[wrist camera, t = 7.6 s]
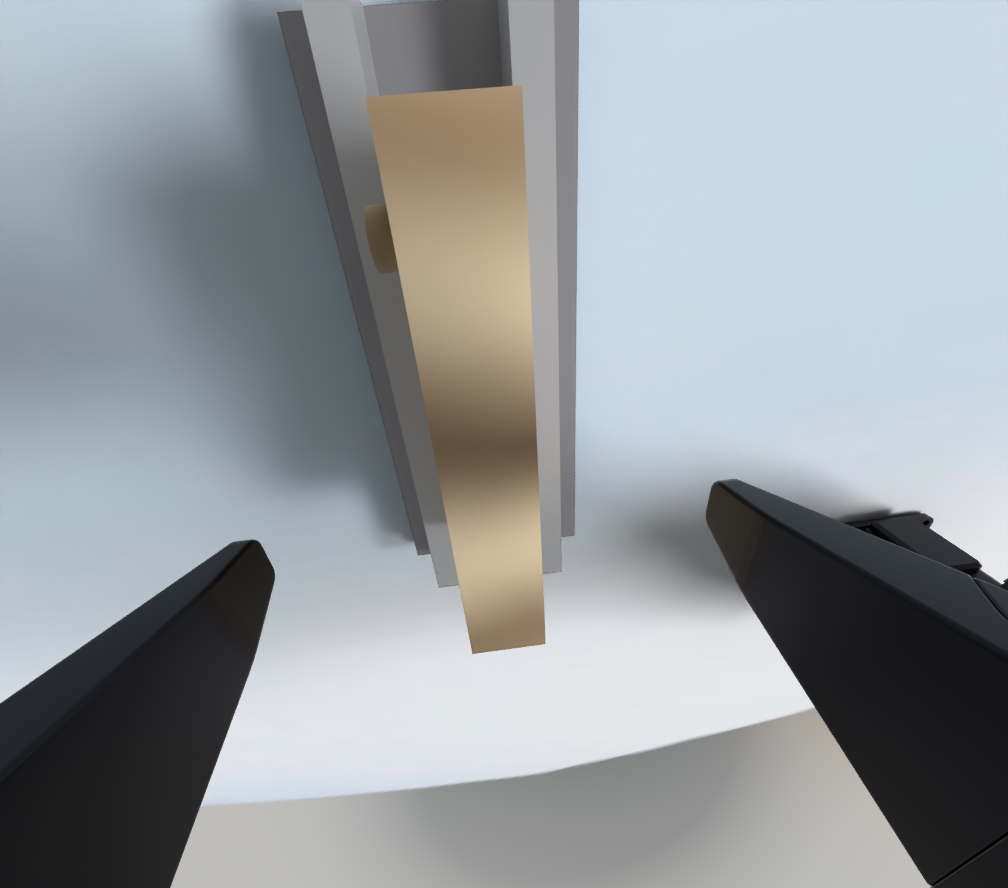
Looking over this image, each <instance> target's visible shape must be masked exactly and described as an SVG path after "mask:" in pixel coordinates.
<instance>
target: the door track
mask: <svg viewBox="0 0 1008 888" xmlns="http://www.w3.org/2000/svg"><path fill="white" fill-rule="evenodd" d="M300 3H301V7H302V10H301V11H287V12H277V13H278V17H279V21H280V25H281V29H282V33H283V36H284V40H285V44H286V48H287V52H288V56H289V60H290V63H291V67H292V71H293V75H294V79H295V83H296V87H297V91H298V94H299V98H300V102H301V106H302V110H303V114H304V118H305V121H306V125H307V129H308V133H309V137H310V141H311V145H312V148H313V152H314V156H315V160H316V164H317V168H318V172H319V175H320V179H321V183H322V187H323V191H324V195H325V199H326V202H327V206H328V210H329V214H330V218H331V222H332V226H333V229H334V233H335V237H336V241H337V245H338V249H339V253H340V256H341V260H342V264H343V268H344V272H345V276H346V280H347V283H348V287H349V291H350V295H351V299H352V303H353V307H354V310H355V314H356V318H357V322H358V326H359V330H360V334H361V337H362V341H363V345H364V349H365V353H366V357H367V361H368V364H369V368H370V372H371V376H372V380H373V384H374V388H375V392H376V395H377V399H378V403H379V407H380V411H381V415H382V419H383V422H384V426H385V430H386V434H387V438H388V442H389V446H390V449H391V453H392V457H393V461H394V465H395V469H396V473H397V476H398V480H399V484H400V488H401V492H402V496H403V500H404V503H405V507H406V511H407V515H408V519H409V523H410V527H411V530H412V534H413V538H414V542H415V546H416V550H417V554H418V555H425V554H431V557H432V561H433V565H434V569H435V574H436V578H437V582H438V586H439V588H441V587H448V586H456V585H459V581H458V576H457V570H456V565H455V560H454V555H453V550H452V545H451V539H450V534H449V529H448V524H447V519H446V513H445V508H444V503H443V498H442V493H441V487H440V482H439V477H438V472H437V467H436V462H435V456H434V451H433V446H432V441H431V436H430V430H429V425H428V420H427V415H426V410H425V404H424V399H423V394H422V389H421V384H420V379H419V373H418V368H417V363H416V358H415V353H414V347H413V342H412V337H411V332H410V327H409V321H408V316H407V311H406V306H405V301H404V296H403V290H402V285H401V280H400V275H399V272H391V273H381V274H380V273H379V272H378V270H377V269H376V266H375V264H374V261H373V258H372V255H371V252H370V248H369V244H368V239H367V234H366V228H365V218H364V210H365V206H366V205H374V204H385V203H386V202H385V197H384V192H383V187H382V181H381V176H380V171H379V166H378V161H377V155H376V150H375V145H374V140H373V135H372V130H371V124H370V119H369V114H368V109H367V104H366V98H365V97H371V96H384V95H397V94H410V93H424V92H437V91H450V90H463V89H476V88H490V87H503V86H516V85H522V94H523V118H524V142H525V166H526V190H527V214H528V238H529V262H530V286H531V310H532V334H533V358H534V382H535V406H536V429H537V453H538V477H539V501H540V525H541V549H542V573H543V574H547V573H555V572H562V565H561V537H566V536H573V535H574V520H575V406H576V293H577V179H578V65H579V0H442V1H428V2H414V3H399V4H385V5H371V6H363V5H362V3H361V1H360V0H300Z"/></svg>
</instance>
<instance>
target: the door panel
mask: <svg viewBox="0 0 1008 888" xmlns="http://www.w3.org/2000/svg"><path fill="white" fill-rule="evenodd" d="M365 98H366V104H367V109H368V114H369V119H370V124H371V130H372V135H373V140H374V145H375V150H376V155H377V161H378V166H379V171H380V176H381V181H382V187H383V192H384V197H385V202H386V203H385V204H374V205H366V206H365V210H364V218H365V228H366V234H367V239H368V244H369V248H370V252H371V255H372V258H373V261H374V264H375V266H376V269H377V270H378V272H379V273H380V274H381V273H391V272H399V275H400V280H401V285H402V290H403V296H404V301H405V306H406V311H407V316H408V321H409V327H410V332H411V337H412V342H413V347H414V353H415V358H416V363H417V368H418V373H419V379H420V384H421V389H422V394H423V399H424V404H425V410H426V415H427V420H428V425H429V430H430V436H431V441H432V446H433V451H434V456H435V462H436V467H437V472H438V477H439V482H440V487H441V493H442V498H443V503H444V508H445V513H446V519H447V524H448V529H449V534H450V539H451V545H452V550H453V555H454V560H455V565H456V570H457V576H458V581H459V586H460V591H461V596H462V602H463V607H464V612H465V617H466V622H467V628H468V633H469V638H470V643H471V648H472V653H473V654H475V653H483V652H490V651H497V650H505V649H512V648H519V647H526V646H534V645H541V644H545V621H544V597H543V573H542V549H541V525H540V501H539V477H538V453H537V429H536V406H535V382H534V358H533V334H532V310H531V286H530V262H529V238H528V214H527V190H526V166H525V142H524V118H523V94H522V85H516V86H503V87H490V88H476V89H463V90H450V91H437V92H424V93H410V94H397V95H384V96H371V97H365Z"/></svg>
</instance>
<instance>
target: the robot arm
mask: <svg viewBox="0 0 1008 888" xmlns="http://www.w3.org/2000/svg"><path fill="white" fill-rule="evenodd" d="M706 521H707V524H708V526H709V528H710V530H711V532H712V534H713V536H714V538H715V540H716V542H717V544H718V546H719V548H720V550H721V552H722V554H723V556H724V558H725V560H726V562H727V564H728V566H729V568H730V570H731V572H732V574H733V576H734V578H735V580H736V582H737V584H738V586H739V588H740V589H741V591H742V593H743V595H744V596H745V598H746V600H747V601H748V603H749V604H750V606H751V608H752V609H753V611H754V612H755V614H756V615H757V617H758V619H759V620H760V622H761V623H762V625H763V626H764V628H765V630H766V631H767V633H768V634H769V636H770V637H771V639H772V640H773V642H774V644H775V645H776V647H777V648H778V650H779V651H780V653H781V655H782V656H783V658H784V659H785V661H786V662H787V664H788V666H789V667H790V669H791V670H792V672H793V673H794V675H795V677H796V678H797V680H798V681H799V683H800V684H801V686H802V688H803V689H804V691H805V692H806V694H807V695H808V697H809V699H810V700H811V702H812V703H813V705H814V706H815V708H816V710H817V711H818V713H819V714H820V716H821V717H822V719H823V720H824V722H825V723H826V725H827V727H828V728H829V730H830V732H831V733H832V735H833V736H834V738H835V739H836V741H837V743H838V744H839V745H840V747H841V749H842V750H843V752H844V753H845V755H846V757H847V758H848V760H849V761H850V763H851V764H852V766H853V768H854V769H855V771H856V772H857V774H858V775H859V777H860V779H861V780H862V782H863V783H864V785H865V786H866V788H867V789H868V791H869V793H870V794H871V796H872V797H873V799H874V801H875V802H876V804H877V805H878V807H879V808H880V810H881V812H882V813H883V815H884V816H885V818H886V819H887V821H888V822H889V824H890V826H891V827H892V829H893V830H894V832H895V833H896V835H897V836H898V838H899V840H900V841H901V843H902V845H903V846H904V847H905V849H906V851H907V852H908V854H909V855H910V857H911V858H912V860H913V862H914V863H915V865H916V866H917V868H918V870H919V871H920V873H921V874H922V876H923V877H924V879H925V880H926V882H927V883H928V884H929V885H931V887H930V888H1008V578H1007V579H1006V580H1004V582H1005V583H1004V584H1001V583H999V582H998V581H996V580H995V579H993V578H992V577H990V576H989V575H987V574H986V573H984V572H983V571H982V570H980V569H981V567H982V565H981V564H980V562H979V561H978V560H976V559H975V558H973V557H972V556H970V555H969V554H967V553H966V552H964V551H963V550H961V549H960V548H958V547H957V546H955V545H954V544H952V543H951V542H949V541H948V540H946V539H945V538H943V537H942V536H940V535H939V534H937V533H936V532H934V531H933V530H931V529H930V526H931V524H932V523H933V518H931V517H930V516H928V515H927V514H915V515H907V516H900V517H892V518H884V519H877V520H869V521H861V522H854V523H846V524H844V523H842V522H839V521H837V520H834V519H832V518H829V517H827V516H825V515H822V514H820V513H817V512H815V511H812V510H810V509H808V508H805V507H803V506H800V505H798V504H795V503H793V502H791V501H788V500H786V499H783V498H781V497H779V496H776V495H774V494H771V493H769V492H766V491H764V490H762V489H759V488H757V487H754V486H752V485H749V484H747V483H745V482H742V481H740V480H737V479H729V480H721V481H717V482H715V483H714V484H713V485H712V487H711V491H710V496H709V501H708V505H707V510H706ZM274 581H275V573H274V569H273V566H272V565H271V563H270V561H269V559H268V557H267V555H266V553H265V551H264V549H263V547H262V545H261V544H260V543H259V542H258V541H257V540H244V541H237V542H233V543H231V544H229V545H228V546H226V547H225V548H223V549H222V550H220V551H219V552H218V553H216V554H215V555H213V556H212V557H210V558H209V559H207V560H206V561H205V562H203V563H202V564H200V565H199V566H197V567H196V568H194V569H193V570H192V571H190V572H189V573H187V574H186V575H184V576H183V577H182V578H180V579H179V580H177V581H176V582H174V583H173V584H171V585H170V586H169V587H167V588H166V589H164V590H163V591H161V592H160V593H159V594H157V595H156V596H154V597H153V598H151V599H150V600H148V601H147V602H146V603H144V604H143V605H141V606H140V607H138V608H137V609H135V610H134V611H133V612H131V613H130V614H128V615H127V616H125V617H124V618H123V619H121V620H120V621H118V622H117V623H115V624H114V625H112V626H111V627H110V628H108V629H107V630H105V631H104V632H102V633H101V634H100V635H98V636H97V637H95V638H94V639H92V640H91V641H89V642H88V643H87V644H85V645H84V646H82V647H81V648H79V649H78V650H76V651H75V652H74V653H72V654H71V655H69V656H68V657H66V658H65V659H64V660H62V661H61V662H59V663H58V664H56V665H55V666H53V667H52V668H51V669H49V670H48V671H46V672H45V673H43V674H42V675H41V676H39V677H38V678H36V679H35V680H33V681H32V682H30V683H29V684H28V685H26V686H25V687H23V688H22V689H20V690H19V691H17V692H16V693H15V694H13V695H12V696H10V697H9V698H7V699H6V700H5V701H3V702H2V703H0V888H170V887H171V884H172V881H173V878H174V876H175V873H176V870H177V868H178V865H179V862H180V860H181V857H182V854H183V852H184V849H185V846H186V843H187V841H188V838H189V835H190V833H191V830H192V827H193V824H194V822H195V819H196V816H197V813H198V811H199V808H200V805H201V803H202V800H203V797H204V795H205V792H206V789H207V786H208V784H209V781H210V778H211V776H212V773H213V770H214V767H215V765H216V762H217V759H218V757H219V754H220V751H221V748H222V746H223V743H224V740H225V738H226V735H227V732H228V730H229V727H230V724H231V721H232V719H233V716H234V713H235V711H236V708H237V705H238V702H239V700H240V697H241V694H242V692H243V689H244V686H245V683H246V681H247V678H248V675H249V673H250V670H251V667H252V664H253V661H254V658H255V654H256V651H257V648H258V644H259V640H260V636H261V632H262V628H263V624H264V620H265V617H266V613H267V609H268V605H269V601H270V597H271V593H272V589H273V585H274Z"/></svg>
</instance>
